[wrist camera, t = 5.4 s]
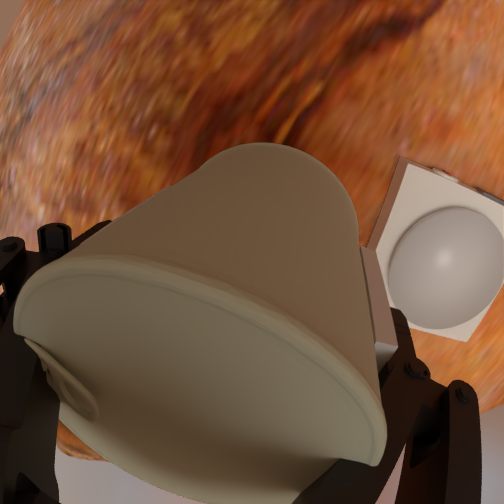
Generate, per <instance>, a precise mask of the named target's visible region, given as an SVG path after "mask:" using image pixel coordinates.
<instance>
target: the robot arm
mask: <svg viewBox="0 0 504 504" xmlns="http://www.w3.org/2000/svg"><path fill="white" fill-rule="evenodd" d="M165 189H167V188H164V189H162V190H160V191H159V192H157V193H156V194H154V195H152V196H151V197H149V198H148V199H146V200H144V201H143V202H141V203H140V204H138V205H137V206H135V207H134V208H132V209H130V210H129V211H127V212H126V213H124V214H123V215H121V216H120V217H118V218H117V219H115V220H114V221H111V220H107V221H103V222H100V223H98V224H96V225H95V226H93V227H92V228H91V229H89V230H87V231H86V232H85V233H83V234H81V235H80V236H78V237H77V238H75V239H74V240H72V235H71V228H70V227H69V226H68V225H66V224H63V223H50V224H46V225H44V226H42V227H40V228H39V229H38V230H37V235H38V244H39V252H33V251H27V250H26V248H25V242H24V240H23V239H22V238H19V237H14V236H12V237H7V238H4V239H2V240H0V285H1V284H2V286H3V290H4V292H3V293H2V294H1V295H0V504H61V503H59V490H58V483H57V480H56V476H55V471H54V464H55V449H56V437H57V427H58V418H59V410H60V399H59V397H58V394H57V393H56V392H55V391H54V390H53V388H52V387H51V386H50V385H49V384H48V383H47V374H46V371H43V368H42V364H41V360H40V358H39V356H38V354H37V353H36V352H35V351H34V350H33V349H32V348H31V347H30V346H29V345H28V344H27V343H26V342H25V340H24V339H25V338H26V337H24V336H21V335H18V334H16V333H15V332H14V325H13V320H14V308H15V305H16V301H17V298H18V295H19V293H20V291H21V289H22V287H23V286H24V285H25V283H26V282H27V280H28V279H29V278H30V277H31V276H32V275H33V274H34V273H35V272H37V271H38V270H39V269H41V268H42V267H44V266H45V265H47V264H49V263H51V262H53V261H55V260H57V259H59V258H61V257H63V256H64V255H66V254H67V253H69V252H70V251H72V250H73V249H75V248H77V247H78V246H80V245H81V244H82V243H84V242H85V241H87V240H88V239H90V238H91V237H93V236H94V235H96V234H97V233H99V232H100V231H102V230H103V229H105V228H106V227H108V226H109V225H111V224H112V223H114V222H115V221H117V220H118V219H120V218H121V217H123V216H125V215H126V214H128V213H129V212H131V211H132V210H134V209H136V208H137V207H139V206H140V205H142V204H143V203H145V202H146V201H148V200H150V199H151V198H153V197H154V196H156V195H157V194H159V193H161V192H162V191H164V190H165ZM359 250H360V256H361V261H362V267H363V273H364V279H365V285H366V291H367V298H368V305H369V311H370V318H371V325H372V331H373V339H374V346H375V354H376V362H377V371H378V379H379V387H380V395H381V404H382V407H383V410H384V414H385V419H386V424H387V441H386V446H385V450H384V453H383V456H382V458H381V460H380V462H379V464H378V465H377V466H370V465H368V464H365V463H361V462H357V461H353V460H348V459H343V458H340V459H339V460H338V461H336V462H335V463H334V464H333V465H332V466H331V467H330V468H329V469H328V470H327V471H326V472H324V473H323V474H322V475H321V476H320V477H319V478H318V479H316V480H315V481H314V482H313V483H312V484H311V485H309V486H308V487H307V488H306V489H305V490H303V491H302V492H301V493H300V494H299V495H298V496H297V498H296V499H295V500H294V501H293V502H292V504H375V503H376V501H377V499H378V498H379V496H380V494H381V492H382V490H383V488H384V486H385V485H386V483H387V481H388V479H389V477H390V475H391V473H392V471H393V469H394V467H395V465H396V463H397V461H398V458H399V457H400V454H401V452H402V450H403V448H404V445H405V443H406V447H405V453H404V460H403V465H402V471H401V476H400V481H399V486H398V491H397V495H396V500H395V504H481V485H482V453H481V431H480V416H479V405H478V398H477V395H476V392H475V391H474V389H473V388H472V387H471V386H470V385H469V384H468V383H466V382H464V381H462V380H454V381H452V382H451V383H450V384H449V386H448V387H445V386H443V385H441V384H439V383H437V382H435V381H433V380H432V379H430V371H429V369H428V367H427V366H426V365H425V363H423V362H422V361H421V360H420V359H418V358H416V354H415V349H414V345H413V341H412V337H411V333H410V329H409V326H408V322H407V319H406V317H405V316H404V314H403V313H402V311H401V310H399V309H396V308H393V307H390V305H389V301H388V297H387V293H386V288H385V284H384V280H383V276H382V273H381V269H380V265H379V261H378V258H377V254H376V251H375V250H372V249H369V248H366V247H363V246H361V247H360V249H359ZM34 343H35V342H34ZM36 344H37V343H36ZM37 345H38V346H40V345H39V344H37ZM40 347H41V346H40ZM47 371H48V373H49V370H48V369H47ZM49 374H50V373H49Z"/></svg>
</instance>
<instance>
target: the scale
mask: <svg viewBox="0 0 504 504" xmlns="http://www.w3.org/2000/svg"><path fill="white" fill-rule="evenodd" d="M367 248H369V249H372V250H375V251H376V254H377V258H378V261H379V265H380V269H381V273H382V276H383V280H384V284H385V288H386V293H387V297H388V301H389V305H390V307H393V308H396V309H399V310H401V311H402V313H403V314H404V316H405V317H406V319H407V322H408V326H409V328H413V329H417V330H420V331H424V332H428V333H432V334H436V335H440V336H444V337H448V338H451V339H455V340H459V341H463V342H467V341H468V339H469V338H470V336H471V335H472V334H473V332H474V331H475V329H476V328H477V326H478V325H479V323H480V321H481V320H482V318H483V317H484V315H485V314H486V312H487V310H488V309H489V307H490V306H491V304H492V302H493V301H494V299H495V297H496V295H497V294H498V292H499V290H500V289H501V287H502V285H503V283H504V201H503V200H502V199H500V198H498V197H496V196H494V195H492V194H490V193H488V192H486V191H484V190H482V189H480V188H478V187H477V189H475V188H473V187H471V186H469V185H467V184H464V183H462V182H460V181H459V179H457V178H456V177H454V176H452V175H450V174H449V173H447V172H446V171H445V170H439V169H437V168H434V167H433V169H430V168H428V167H425V166H423V165H421V164H418V163H416V162H413V161H411V160H408V159H405V158H403V157H399V160H398V163H397V166H396V169H395V172H394V175H393V178H392V181H391V184H390V187H389V189H388V192H387V195H386V198H385V201H384V203H383V206H382V209H381V212H380V214H379V217H378V220H377V222H376V225H375V227H374V230H373V233H372V235H371V238H370V240H369V243H368V245H367Z"/></svg>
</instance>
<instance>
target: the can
mask: <svg viewBox="0 0 504 504" xmlns="http://www.w3.org/2000/svg"><path fill="white" fill-rule="evenodd" d="M358 242H359V227H358V219H357V215H356V211H355V208H354V205H353V202H352V200H351V198H350V196H349V194H348V192H347V190H346V189H345V187H344V185H343V184H342V183H341V181H340V180H339V179H338V178H337V176H336V175H335V174H334V173H333V172H332V171H331V170H330V169H329V168H328V167H326V166H325V165H324V164H323V163H322V162H320V161H319V160H317V159H316V158H314V157H312V156H311V155H309V154H307V153H305V152H303V151H301V150H298V149H296V148H293V147H290V146H286V145H282V144H276V143H263V142H260V143H248V144H242V145H239V146H235V147H232V148H229V149H227V150H224V151H222V152H220V153H218V154H216V155H215V156H213V157H212V158H210V159H209V160H208V161H206V162H205V163H204V164H203V165H202V166H201V167H200V168H199V169H198V170H196V171H195V172H193V173H192V174H190V175H188V176H187V177H185V178H183V179H182V180H180V181H178V182H177V183H175V184H174V185H172V186H170V187H169V188H167V189H165V190H164V191H162V192H161V193H159V194H157V195H156V196H154V197H153V198H151V199H150V200H148V201H146V202H145V203H143V204H142V205H140V206H139V207H137V208H136V209H134V210H132V211H131V212H129V213H128V214H126V215H125V216H123V217H121V218H120V219H118V220H117V221H115V222H114V223H112V224H111V225H109V226H108V227H106V228H105V229H103V230H102V231H100V232H99V233H97V234H96V235H94V236H93V237H91V238H90V239H88V240H87V241H85V242H84V243H82V244H81V245H80V246H78V247H77V248H75V249H73V250H72V251H70V252H69V253H67V254H66V255H64V256H63V257H61V258H59V259H57V260H55V261H53V262H51V263H49V264H47V265H45V266H44V267H42V268H41V269H39V270H38V271H37V272H35V273H34V274H33V275H32V276H31V277H30V278H29V279H28V280H27V282H26V283H25V285H24V286H23V287H22V289H21V291H20V293H19V295H18V298H17V301H16V305H15V308H14V320H13V325H14V332H15V333H16V334H18V335H21V336H24V337H26V338H25V339H24V340H25V342H26V343H27V344H28V345H29V346H30V347H31V348H32V349H33V350H34V351H35V352H36V353H37V354H38V356H39V358H40V360H41V364H42V368H43V371H46V374H47V383H48V384H49V385H50V386H51V387H52V388H53V390H54V391H55V392H56V393H57V394H58V397H59V399H60V410H59V419H60V420H61V421H62V422H63V423H64V424H65V425H66V426H67V427H68V428H69V429H70V430H71V431H72V432H73V433H74V434H75V435H76V436H77V437H78V438H80V439H81V440H82V441H83V442H84V443H85V444H87V445H88V446H89V447H90V448H92V449H93V450H94V451H96V452H97V453H98V454H100V455H101V456H102V457H104V458H105V459H107V460H108V461H110V462H111V463H113V464H114V465H116V466H118V467H119V468H121V469H122V470H124V471H126V472H128V473H129V474H131V475H133V476H135V477H137V478H139V479H141V480H143V481H145V482H147V483H149V484H151V485H154V486H156V487H158V488H160V489H163V490H165V491H168V492H171V493H174V494H177V495H179V496H182V497H185V498H188V499H192V500H195V501H198V502H203V503H207V504H292V502H293V501H294V500H295V499H296V498H297V496H298V495H299V494H300V493H301V492H302V491H303V490H305V489H306V488H307V487H308V486H309V485H311V484H312V483H313V482H314V481H315V480H316V479H318V478H319V477H320V476H321V475H322V474H323V473H324V472H326V471H327V470H328V469H329V468H330V467H331V466H332V465H333V464H334V463H335V462H336V461H338V460H339V459H340V458H343V459H348V460H353V461H357V462H361V463H365V464H368V465H370V466H377V465H378V464H379V462H380V460H381V458H382V456H383V453H384V450H385V446H386V441H387V424H386V419H385V414H384V410H383V407H382V404H381V395H380V387H379V379H378V371H377V362H376V354H375V346H374V339H373V331H372V325H371V318H370V311H369V305H368V298H367V291H366V285H365V279H364V273H363V267H362V261H361V256H360V250H359V244H358ZM34 342H35V343H34ZM36 343H37V344H39V345H40V346H41V347H40V346H38V345H37V344H36ZM47 369H48V370H49V373H50V374H49V373H48V371H47Z"/></svg>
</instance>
